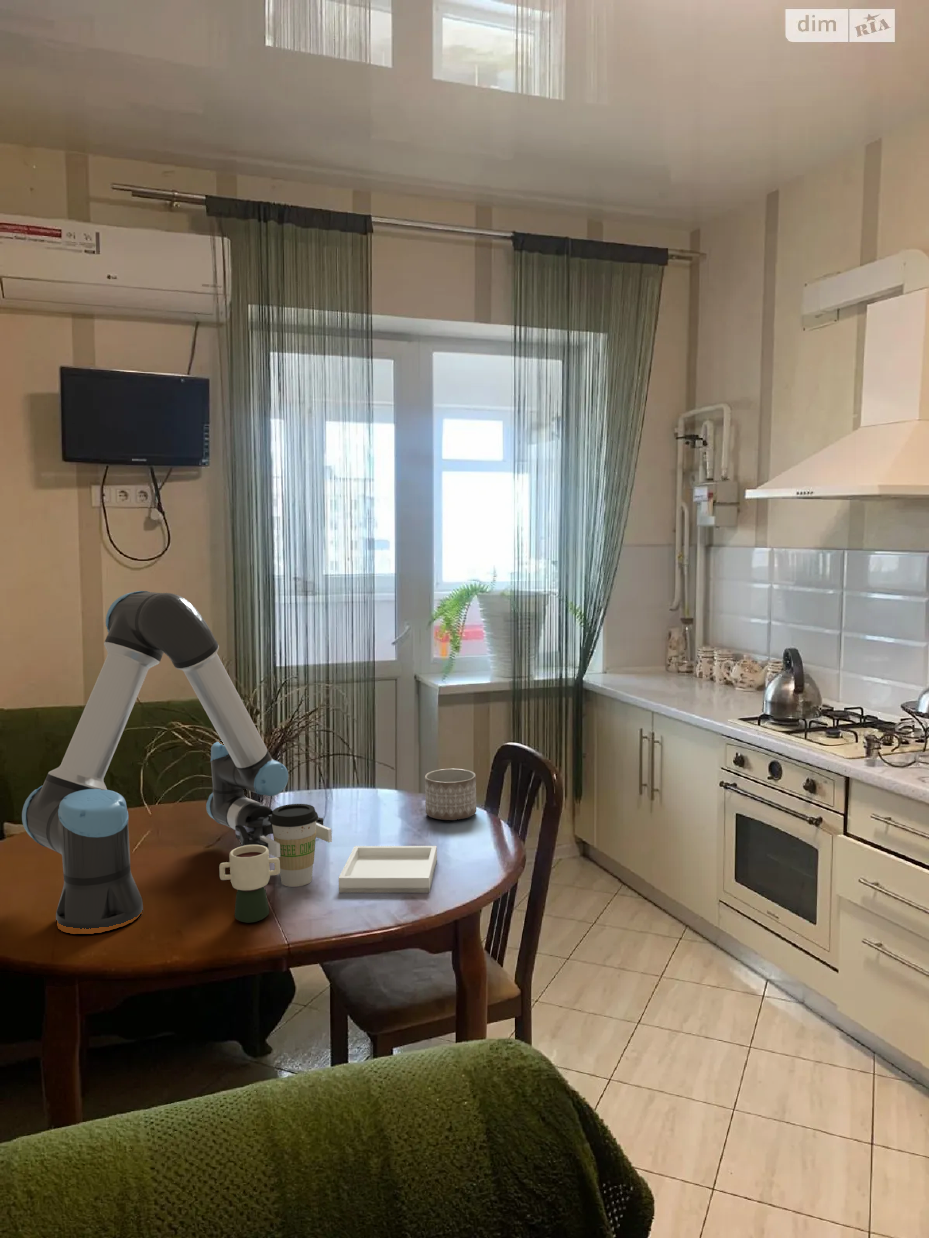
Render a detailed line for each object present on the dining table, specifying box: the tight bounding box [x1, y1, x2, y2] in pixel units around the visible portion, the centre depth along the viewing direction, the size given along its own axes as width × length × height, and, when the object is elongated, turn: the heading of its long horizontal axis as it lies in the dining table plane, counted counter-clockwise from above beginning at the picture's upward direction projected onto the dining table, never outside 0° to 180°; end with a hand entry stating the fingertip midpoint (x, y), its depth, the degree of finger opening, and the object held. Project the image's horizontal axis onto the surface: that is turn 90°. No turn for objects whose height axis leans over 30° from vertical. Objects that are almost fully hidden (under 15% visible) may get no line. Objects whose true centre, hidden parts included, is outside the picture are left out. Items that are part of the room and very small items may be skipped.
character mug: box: [218, 845, 280, 924], centre depth 167 cm, size 11×7×13 cm, turn 102°
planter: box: [424, 768, 477, 821], centre depth 224 cm, size 13×13×10 cm
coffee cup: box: [270, 803, 319, 888], centre depth 184 cm, size 10×10×15 cm
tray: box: [338, 845, 438, 894], centre depth 187 cm, size 18×18×3 cm
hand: (304, 842), depth 181 cm, fingers open, 11 cm apart
